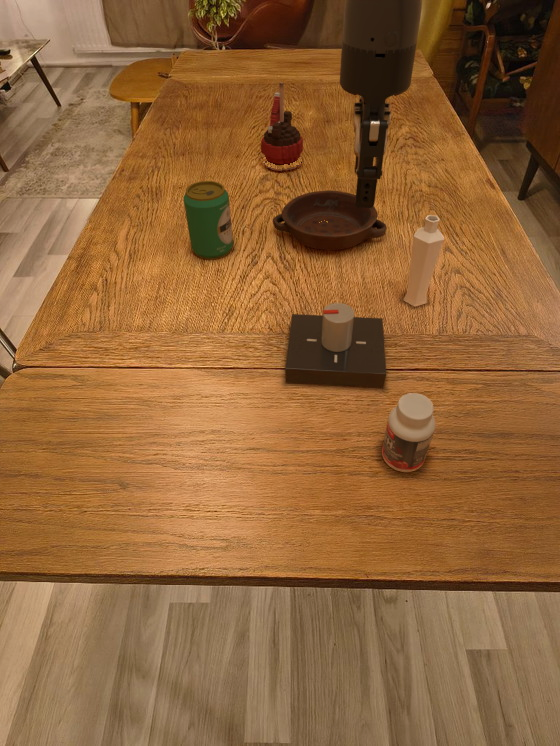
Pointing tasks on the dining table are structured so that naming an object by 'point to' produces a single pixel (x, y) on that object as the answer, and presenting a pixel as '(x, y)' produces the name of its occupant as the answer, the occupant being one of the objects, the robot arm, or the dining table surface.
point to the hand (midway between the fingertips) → (363, 189)
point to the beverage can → (208, 219)
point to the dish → (329, 220)
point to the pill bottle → (409, 433)
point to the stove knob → (337, 327)
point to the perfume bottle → (423, 260)
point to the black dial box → (336, 354)
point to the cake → (281, 136)
